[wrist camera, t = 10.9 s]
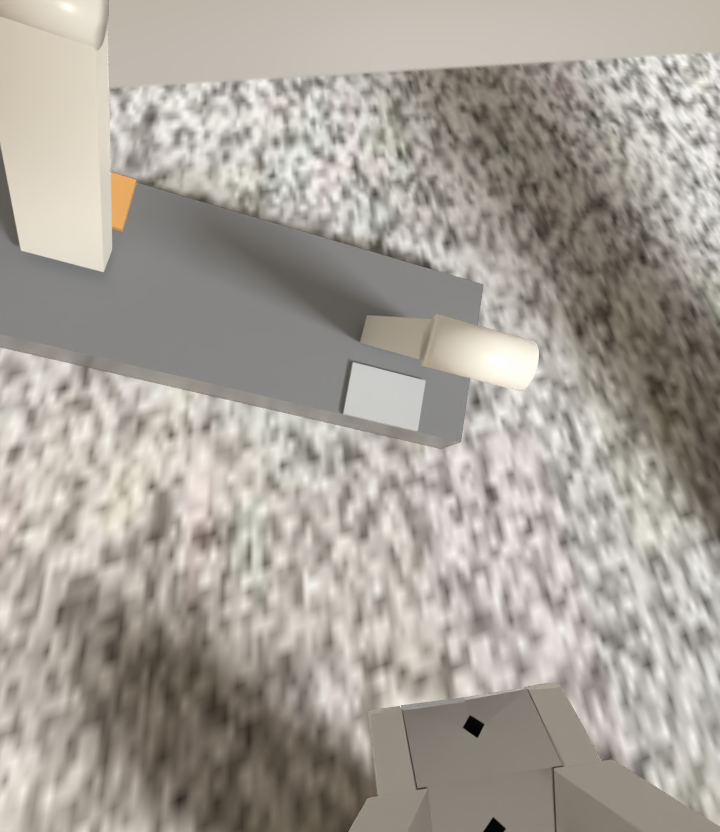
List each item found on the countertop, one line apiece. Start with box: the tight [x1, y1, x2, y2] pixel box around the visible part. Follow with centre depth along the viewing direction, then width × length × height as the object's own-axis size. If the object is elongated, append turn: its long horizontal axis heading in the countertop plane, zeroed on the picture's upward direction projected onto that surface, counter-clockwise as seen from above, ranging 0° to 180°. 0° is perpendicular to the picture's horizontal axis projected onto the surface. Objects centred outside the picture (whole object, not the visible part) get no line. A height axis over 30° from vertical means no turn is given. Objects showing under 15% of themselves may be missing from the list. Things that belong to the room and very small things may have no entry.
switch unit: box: [0, 145, 483, 449], centre depth 37 cm, size 28×10×3 cm, turn 79°
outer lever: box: [0, 0, 112, 272], centre depth 28 cm, size 4×2×14 cm, turn 80°
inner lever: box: [360, 314, 539, 391], centre depth 31 cm, size 4×2×14 cm, turn 79°
